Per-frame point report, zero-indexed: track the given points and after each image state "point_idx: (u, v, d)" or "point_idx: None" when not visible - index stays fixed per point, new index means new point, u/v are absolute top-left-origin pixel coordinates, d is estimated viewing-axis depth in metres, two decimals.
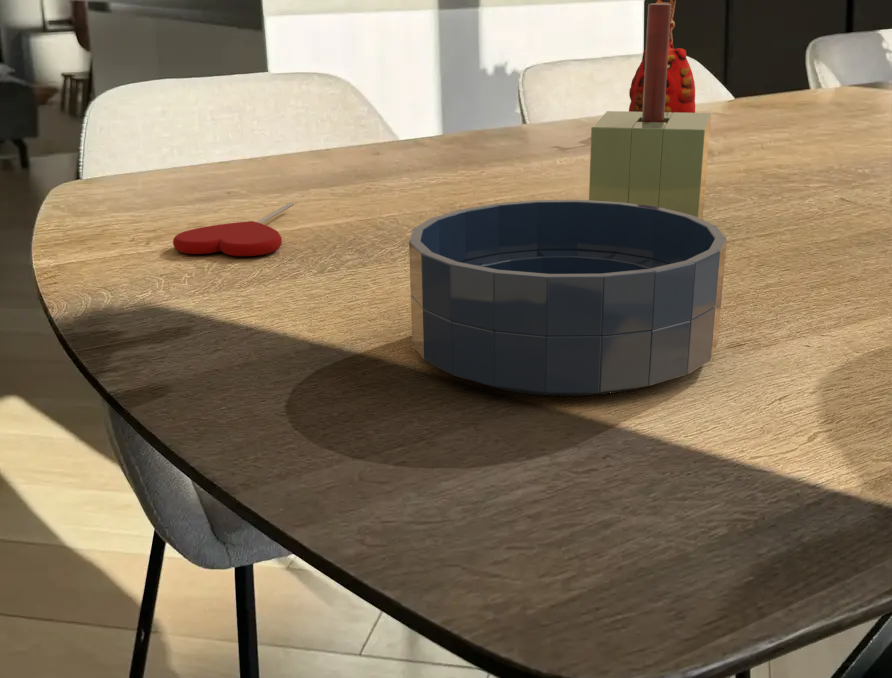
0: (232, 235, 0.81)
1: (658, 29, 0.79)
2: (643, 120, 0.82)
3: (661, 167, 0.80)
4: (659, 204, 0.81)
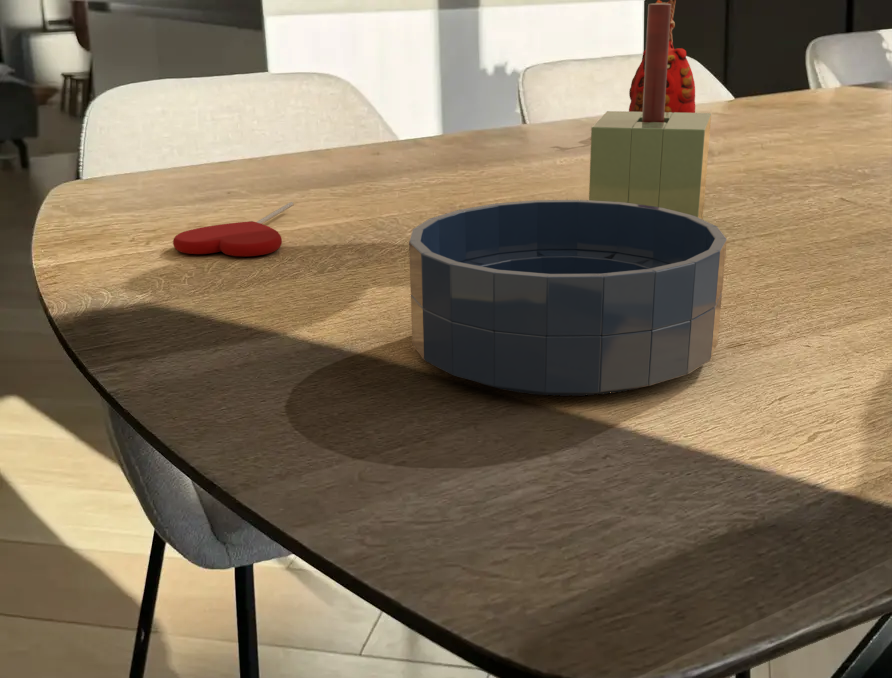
0: (232, 235, 0.81)
1: (658, 29, 0.79)
2: (643, 120, 0.82)
3: (661, 167, 0.80)
4: (659, 204, 0.81)
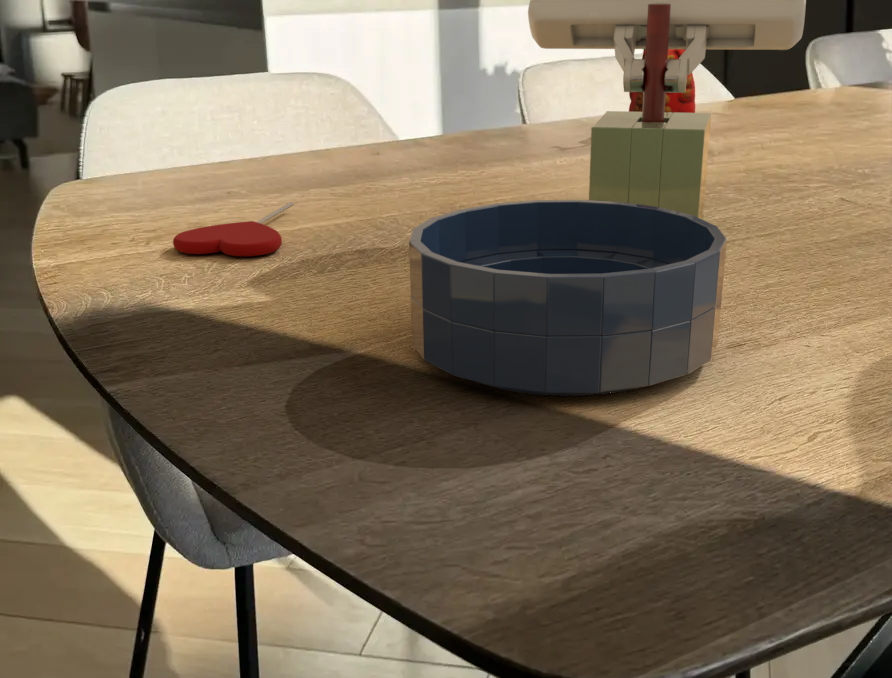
0: (232, 235, 0.81)
1: (658, 29, 0.79)
2: (643, 120, 0.82)
3: (661, 167, 0.80)
4: (659, 204, 0.81)
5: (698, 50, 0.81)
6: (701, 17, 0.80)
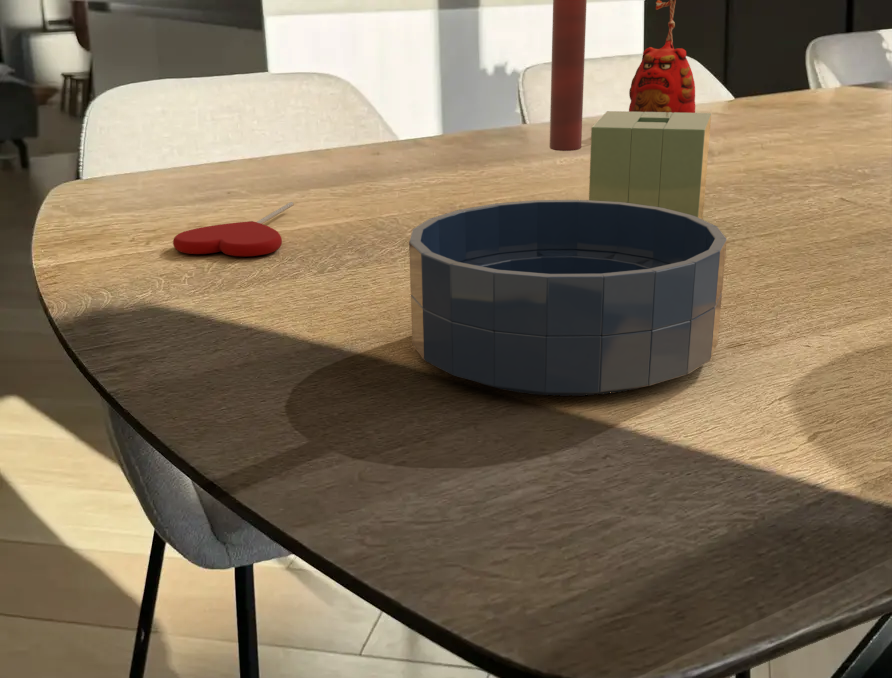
0: (232, 235, 0.81)
1: None
2: None
3: (661, 167, 0.80)
4: (659, 204, 0.81)
5: None
6: None
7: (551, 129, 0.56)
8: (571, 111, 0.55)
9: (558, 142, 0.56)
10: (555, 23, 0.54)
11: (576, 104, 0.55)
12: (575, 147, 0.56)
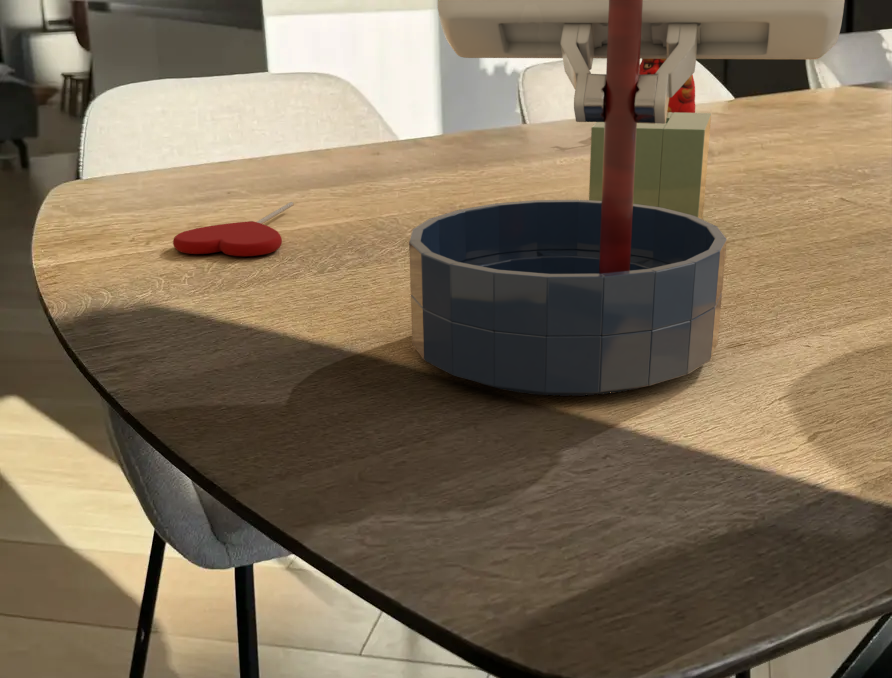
0: (232, 235, 0.81)
1: (624, 30, 0.53)
2: (604, 163, 0.56)
3: (661, 167, 0.80)
4: (659, 204, 0.81)
5: (685, 61, 0.54)
6: (689, 12, 0.54)
7: None
8: None
9: None
10: (605, 204, 0.57)
11: None
12: None
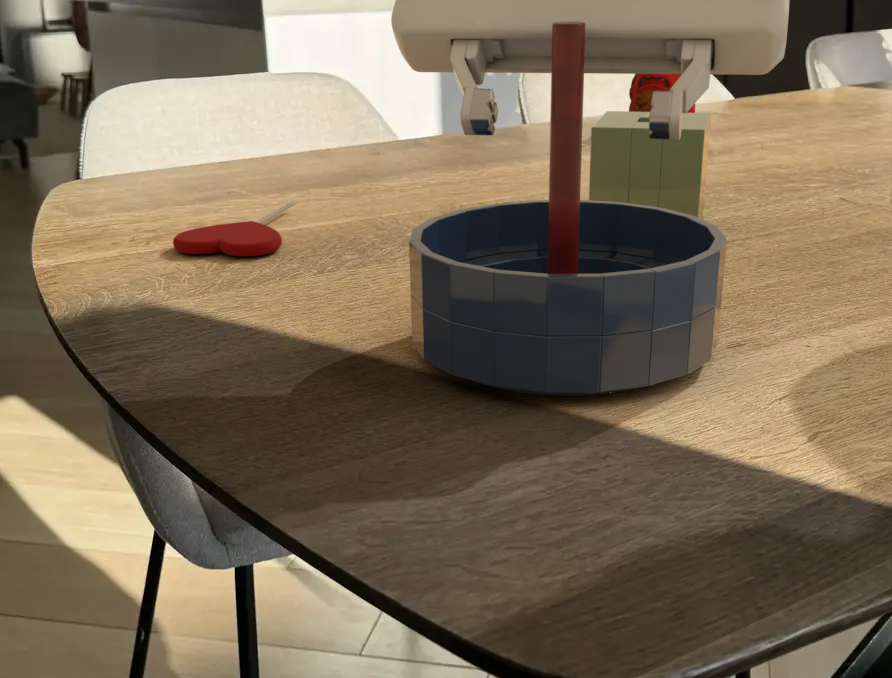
0: (232, 235, 0.81)
1: (567, 61, 0.54)
2: (550, 190, 0.57)
3: (661, 167, 0.80)
4: (659, 204, 0.81)
5: (699, 78, 0.54)
6: (636, 28, 0.55)
7: None
8: None
9: None
10: (551, 230, 0.58)
11: None
12: None
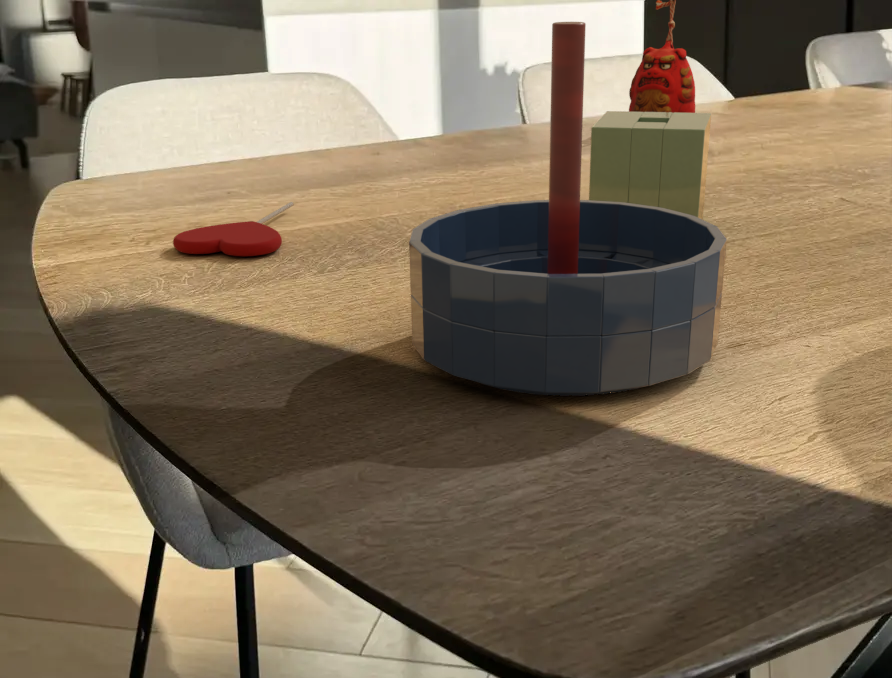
0: (232, 235, 0.81)
1: (567, 61, 0.54)
2: (550, 190, 0.57)
3: (661, 167, 0.80)
4: (659, 204, 0.81)
5: None
6: None
7: None
8: None
9: None
10: (551, 230, 0.58)
11: None
12: None
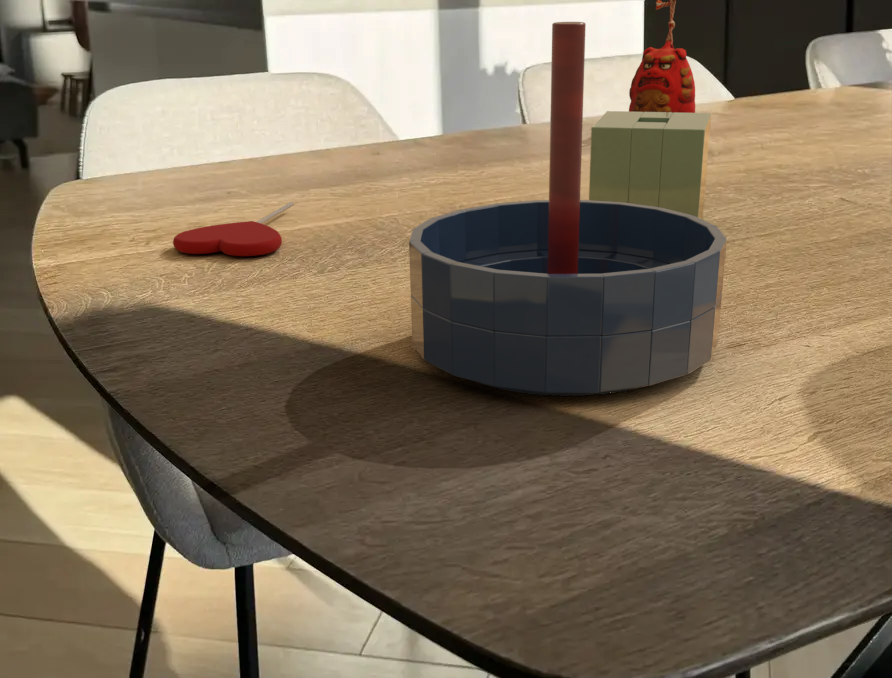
0: (232, 235, 0.81)
1: (567, 61, 0.54)
2: (550, 190, 0.57)
3: (661, 167, 0.80)
4: (659, 204, 0.81)
5: None
6: None
7: None
8: None
9: None
10: (551, 230, 0.58)
11: None
12: None
